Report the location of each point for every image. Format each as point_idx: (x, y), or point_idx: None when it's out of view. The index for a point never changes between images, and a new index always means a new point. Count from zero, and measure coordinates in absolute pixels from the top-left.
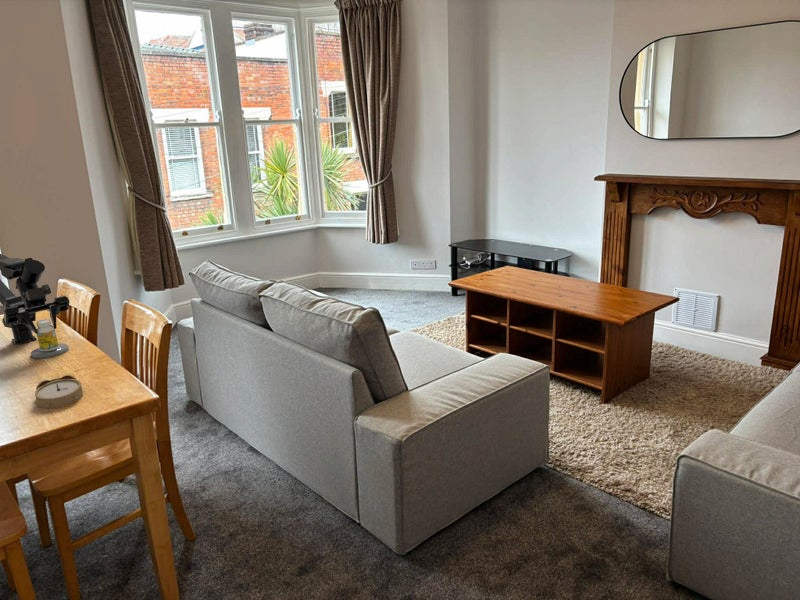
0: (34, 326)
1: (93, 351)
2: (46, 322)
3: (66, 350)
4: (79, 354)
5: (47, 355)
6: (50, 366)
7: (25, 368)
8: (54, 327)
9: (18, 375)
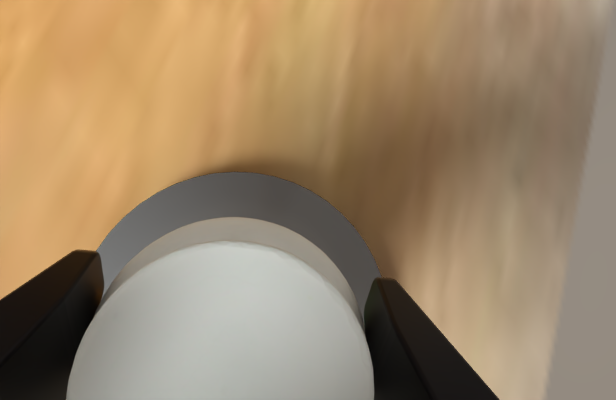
0: (417, 344)
1: (6, 14)
2: (207, 244)
3: (140, 208)
4: (112, 50)
5: (306, 189)
6: (355, 4)
7: (480, 123)
8: (94, 300)
9: (542, 36)
